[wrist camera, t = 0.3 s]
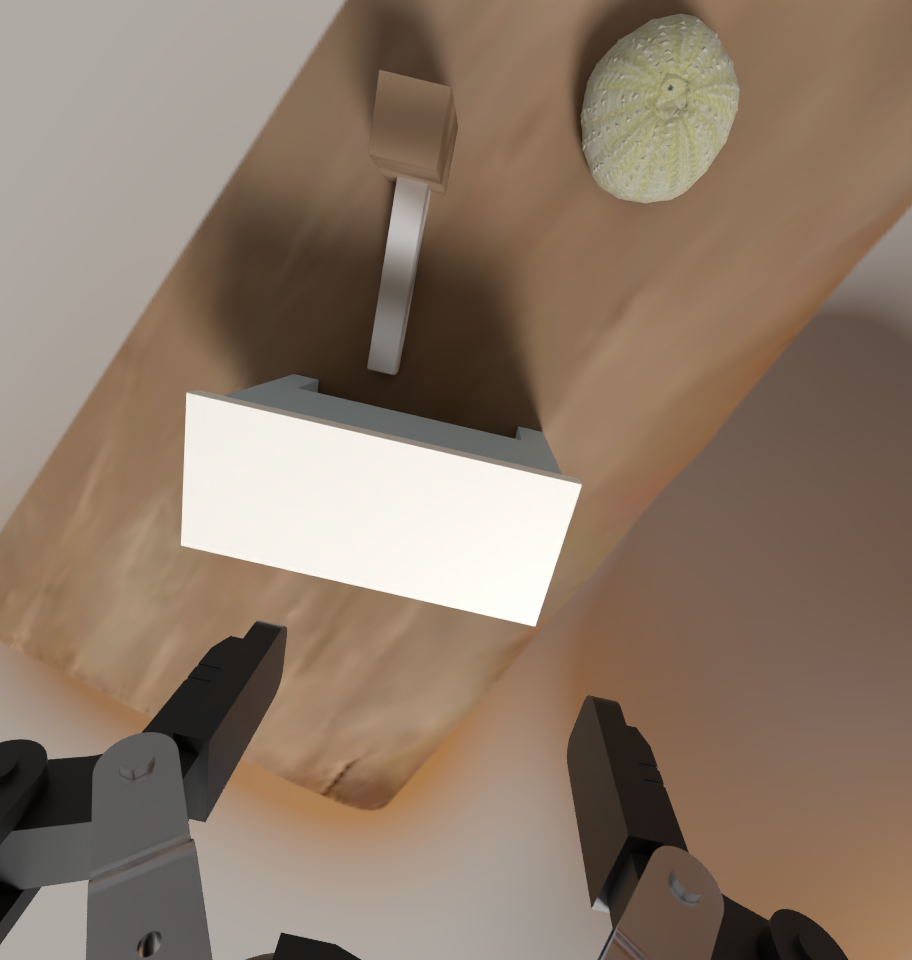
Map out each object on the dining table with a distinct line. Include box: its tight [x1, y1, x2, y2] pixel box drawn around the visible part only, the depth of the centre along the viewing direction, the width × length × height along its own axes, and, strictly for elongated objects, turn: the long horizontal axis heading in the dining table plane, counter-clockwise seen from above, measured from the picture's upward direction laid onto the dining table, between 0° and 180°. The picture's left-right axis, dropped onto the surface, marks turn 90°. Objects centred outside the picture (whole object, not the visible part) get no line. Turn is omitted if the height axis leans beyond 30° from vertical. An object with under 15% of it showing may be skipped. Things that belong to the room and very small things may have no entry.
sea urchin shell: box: [580, 13, 740, 203], centre depth 30 cm, size 9×8×8 cm
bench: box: [181, 374, 582, 626], centre depth 33 cm, size 9×21×14 cm, turn 77°
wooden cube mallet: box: [367, 70, 458, 375], centre depth 32 cm, size 16×4×6 cm, turn 167°
